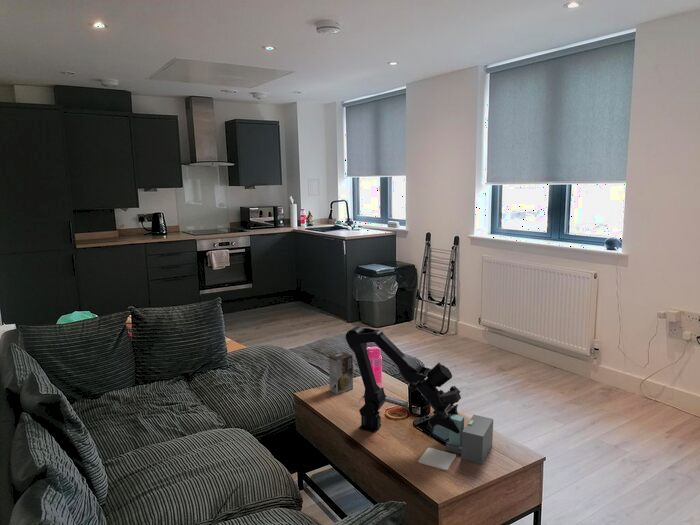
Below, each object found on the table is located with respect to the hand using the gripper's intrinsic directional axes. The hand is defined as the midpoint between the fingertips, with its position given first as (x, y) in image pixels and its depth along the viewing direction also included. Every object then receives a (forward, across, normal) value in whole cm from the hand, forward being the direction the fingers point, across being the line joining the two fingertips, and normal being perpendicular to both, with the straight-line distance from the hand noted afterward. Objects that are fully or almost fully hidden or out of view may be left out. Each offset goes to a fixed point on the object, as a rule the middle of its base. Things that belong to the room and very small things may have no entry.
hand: (460, 430), depth 173 cm
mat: (+2, -11, +8) cm, 14 cm away
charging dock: (+7, 0, +3) cm, 7 cm away
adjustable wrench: (-22, +23, +32) cm, 45 cm away
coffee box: (-39, +23, +49) cm, 66 cm away
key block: (+4, 0, +6) cm, 7 cm away
